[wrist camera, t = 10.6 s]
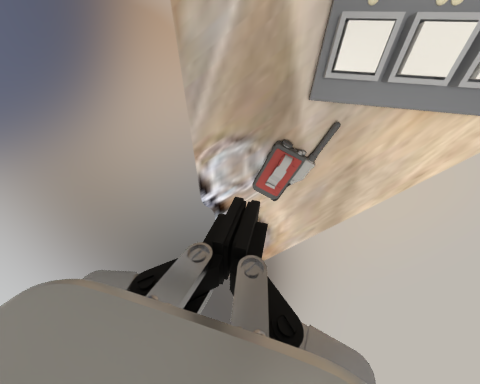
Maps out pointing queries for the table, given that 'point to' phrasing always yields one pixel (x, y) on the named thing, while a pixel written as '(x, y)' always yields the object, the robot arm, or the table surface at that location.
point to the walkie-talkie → (287, 166)
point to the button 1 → (362, 45)
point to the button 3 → (476, 73)
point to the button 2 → (435, 48)
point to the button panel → (400, 58)
